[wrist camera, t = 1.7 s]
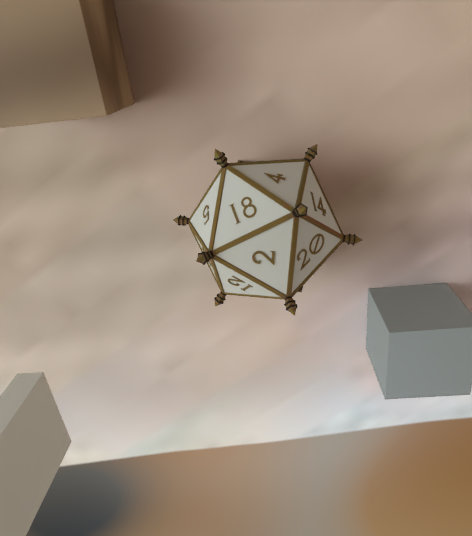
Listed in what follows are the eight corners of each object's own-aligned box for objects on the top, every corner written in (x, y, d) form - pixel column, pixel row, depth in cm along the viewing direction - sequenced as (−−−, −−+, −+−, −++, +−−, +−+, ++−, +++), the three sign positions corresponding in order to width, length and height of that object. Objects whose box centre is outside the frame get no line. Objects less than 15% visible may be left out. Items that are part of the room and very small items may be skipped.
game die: (266, 157, 28) (347, 79, 18) (320, 273, 28) (428, 255, 19) (141, 210, 25) (160, 150, 16) (204, 336, 26) (259, 354, 16)
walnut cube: (17, 10, 21) (-45, -1, 17) (112, -4, 21) (74, -18, 16) (48, 113, 24) (0, 127, 19) (134, 103, 23) (106, 115, 19)
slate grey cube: (367, 288, 28) (389, 333, 24) (445, 282, 28) (482, 326, 23) (365, 348, 30) (385, 399, 26) (437, 343, 30) (469, 394, 25)
